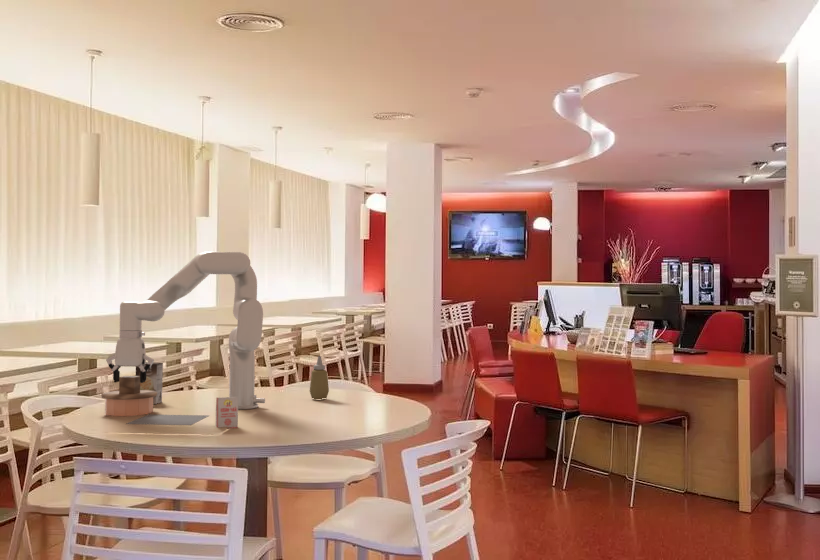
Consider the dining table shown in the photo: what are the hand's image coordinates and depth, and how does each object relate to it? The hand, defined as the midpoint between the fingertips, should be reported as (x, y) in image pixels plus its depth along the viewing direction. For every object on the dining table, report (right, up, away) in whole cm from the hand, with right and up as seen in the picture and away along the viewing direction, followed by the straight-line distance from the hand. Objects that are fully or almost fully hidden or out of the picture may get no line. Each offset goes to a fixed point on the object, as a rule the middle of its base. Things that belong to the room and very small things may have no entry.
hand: (129, 382), depth 280 cm
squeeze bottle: (+64, -13, +42) cm, 77 cm away
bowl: (0, -12, 0) cm, 12 cm away
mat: (+19, -11, -15) cm, 27 cm away
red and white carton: (+42, -12, -26) cm, 51 cm away
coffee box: (-3, -12, +28) cm, 31 cm away
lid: (0, -5, 0) cm, 5 cm away
